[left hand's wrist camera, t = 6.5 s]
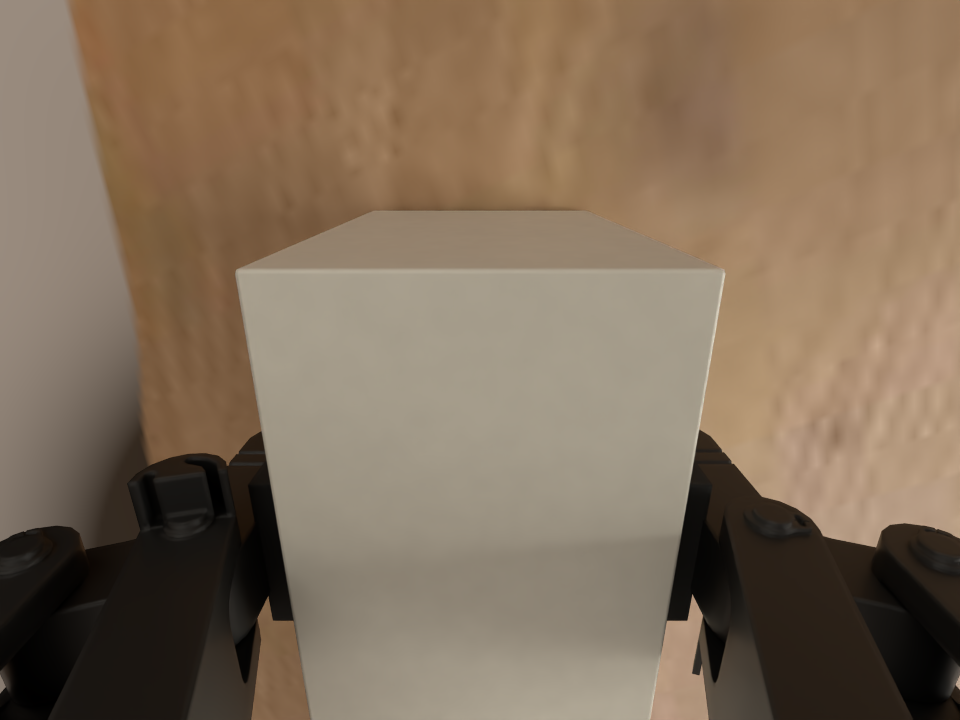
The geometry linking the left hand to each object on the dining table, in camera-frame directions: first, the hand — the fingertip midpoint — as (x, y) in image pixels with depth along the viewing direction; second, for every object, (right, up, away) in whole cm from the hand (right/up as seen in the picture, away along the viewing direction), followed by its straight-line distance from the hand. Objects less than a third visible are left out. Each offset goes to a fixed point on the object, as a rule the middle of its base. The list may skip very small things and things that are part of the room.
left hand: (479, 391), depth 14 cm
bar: (0, -27, +11) cm, 29 cm away
